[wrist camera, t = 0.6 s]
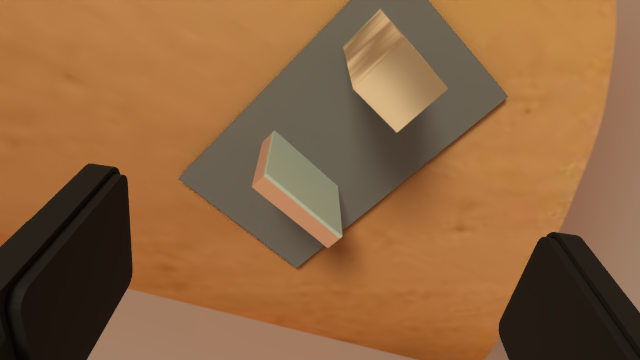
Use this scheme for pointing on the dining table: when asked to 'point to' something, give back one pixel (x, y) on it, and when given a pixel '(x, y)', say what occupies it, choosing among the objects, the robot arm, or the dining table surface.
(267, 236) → the mat
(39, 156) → the dining table surface
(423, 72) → the light wood block
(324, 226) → the tile
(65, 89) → the dining table surface
